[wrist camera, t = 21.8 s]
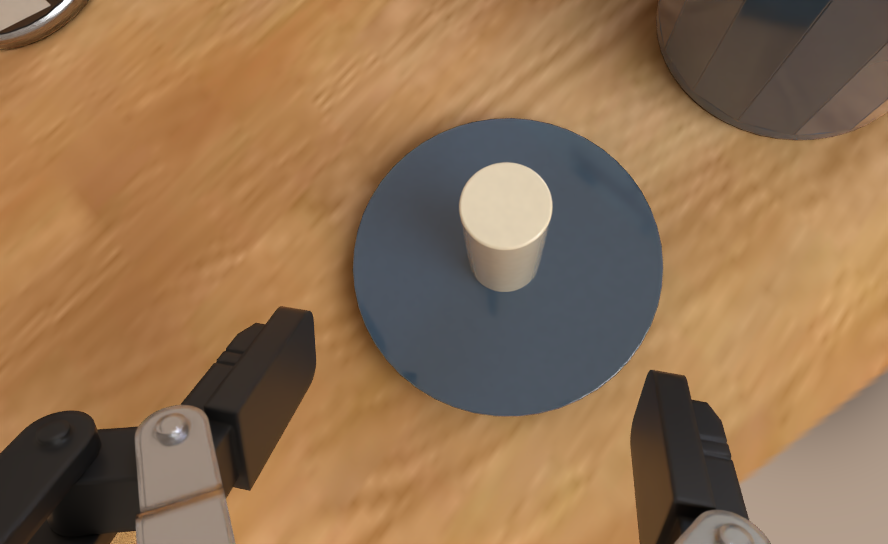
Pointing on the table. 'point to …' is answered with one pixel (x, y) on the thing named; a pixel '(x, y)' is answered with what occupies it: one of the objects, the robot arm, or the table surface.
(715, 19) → the blue handleless cup
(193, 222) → the table surface
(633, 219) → the lid
